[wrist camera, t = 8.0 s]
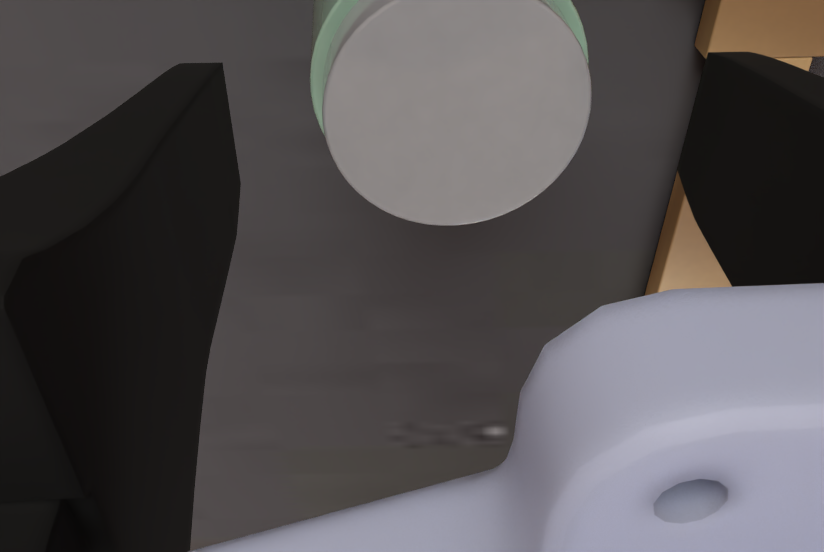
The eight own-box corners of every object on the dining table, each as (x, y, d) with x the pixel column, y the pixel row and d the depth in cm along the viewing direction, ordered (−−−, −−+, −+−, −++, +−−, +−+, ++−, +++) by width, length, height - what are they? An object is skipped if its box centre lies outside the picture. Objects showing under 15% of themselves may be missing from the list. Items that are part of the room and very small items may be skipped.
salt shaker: (546, 5, 18) (638, 173, 13) (372, 85, 19) (387, 273, 13) (476, -197, 15) (554, -95, 10) (277, -92, 16) (249, 54, 11)
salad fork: (740, 339, 25) (750, 357, 25) (587, 346, 25) (593, 364, 25) (1022, -392, 14) (1053, -393, 13) (747, -397, 14) (766, -398, 13)
